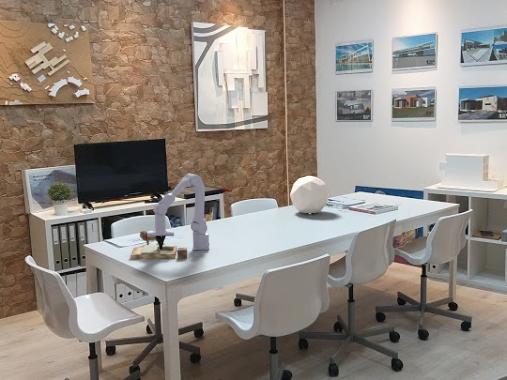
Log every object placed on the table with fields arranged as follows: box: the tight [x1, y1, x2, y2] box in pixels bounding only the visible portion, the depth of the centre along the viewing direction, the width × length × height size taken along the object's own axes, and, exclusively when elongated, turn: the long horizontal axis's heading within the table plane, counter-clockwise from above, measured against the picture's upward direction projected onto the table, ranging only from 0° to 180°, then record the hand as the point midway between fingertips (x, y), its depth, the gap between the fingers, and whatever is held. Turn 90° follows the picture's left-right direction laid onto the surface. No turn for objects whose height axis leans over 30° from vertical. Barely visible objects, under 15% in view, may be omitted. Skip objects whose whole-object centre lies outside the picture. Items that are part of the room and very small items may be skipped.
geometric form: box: [289, 175, 330, 214], centre depth 426 cm, size 28×30×30 cm
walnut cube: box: [176, 247, 188, 260], centre depth 308 cm, size 5×5×5 cm
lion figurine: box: [139, 230, 166, 246], centre depth 334 cm, size 15×5×9 cm, turn 92°
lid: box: [141, 243, 160, 254], centre depth 314 cm, size 9×16×2 cm, turn 5°
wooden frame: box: [129, 245, 178, 260], centre depth 314 cm, size 24×17×3 cm
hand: (161, 248), depth 314 cm, fingers closed
